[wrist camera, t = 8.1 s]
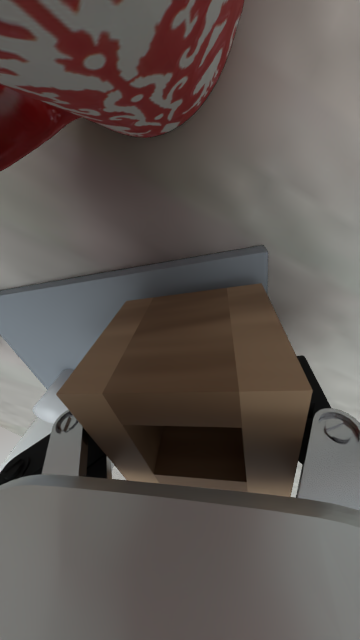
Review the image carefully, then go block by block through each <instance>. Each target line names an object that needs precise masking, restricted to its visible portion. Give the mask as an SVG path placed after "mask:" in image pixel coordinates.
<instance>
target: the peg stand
mask: <svg viewBox="0 0 360 640" xmlns="http://www.w3.org/2000/svg"><path fill="white" fill-rule="evenodd" d="M259 283H262V285H263V287H264V289H265V291H266V293H267V286H268V251H267V249H266V248H265V247H264V245H262V246H256V247H250V248H244V249H238V250H233V251H227V252H221V253H215V254H209V255H204V256H198V257H192V258H186V259H180V260H175V261H169V262H163V263H157V264H151V265H146V266H140V267H134V268H128V269H122V270H117V271H111V272H105V273H99V274H93V275H88V276H82V277H76V278H70V279H64V280H59V281H53V282H47V283H41V284H35V285H30V286H24V287H18V288H12V289H6V290H1V291H0V335H1V336H2V337H3V339H4V340H5V341H6V342H7V343H8V344H9V346H10V347H11V348H12V349H13V350H14V351H15V353H16V354H17V355H18V356H19V357H20V358H21V360H22V361H23V362H24V363H25V364H26V365H27V366H28V368H29V369H30V370H31V371H32V372H33V373H34V375H35V376H36V377H37V378H38V379H39V380H40V382H41V383H42V384H43V385H44V386H45V387H46V389H47V391H46V393H45V394H44V395H43V396H42V397H41V399H40V400H39V401H38V402H37V404H36V405H35V406H34V407H33V412H34V414H35V415H36V416H37V417H39V418H40V419H42V420H44V421H46V422H48V423H52V424H54V423H55V421H56V420H57V418H58V417H59V416H60V415H61V414H63V413H64V412H65V411H67V410H68V408H67V407H66V406H65V405H64V404H63V402H62V401H61V400H60V399H59V398H58V396H57V395H56V394H57V392H58V391H59V390H60V388H61V387H62V386H63V384H64V383H65V382H66V380H67V379H68V378H69V376H70V375H71V374H72V372H73V371H74V370H75V368H76V367H77V366H78V364H79V363H80V362H81V360H82V359H83V358H84V356H85V355H86V354H87V352H88V351H89V350H90V348H91V347H92V346H93V344H94V343H95V342H96V340H97V339H98V338H99V336H100V335H101V334H102V332H103V331H104V330H105V328H106V327H107V326H108V325H109V323H110V322H111V321H112V319H113V318H114V317H115V315H116V314H117V313H118V311H119V310H120V309H121V307H122V306H123V305H124V303H125V302H126V301H130V300H137V299H145V298H153V297H160V296H168V295H175V294H183V293H191V292H198V291H206V290H214V289H221V288H229V287H237V286H244V285H252V284H259Z"/></svg>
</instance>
